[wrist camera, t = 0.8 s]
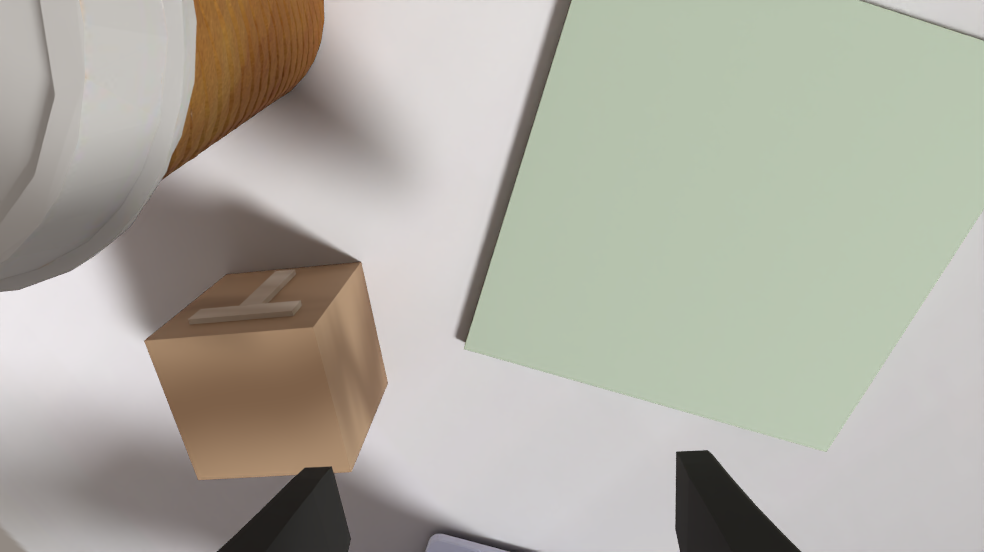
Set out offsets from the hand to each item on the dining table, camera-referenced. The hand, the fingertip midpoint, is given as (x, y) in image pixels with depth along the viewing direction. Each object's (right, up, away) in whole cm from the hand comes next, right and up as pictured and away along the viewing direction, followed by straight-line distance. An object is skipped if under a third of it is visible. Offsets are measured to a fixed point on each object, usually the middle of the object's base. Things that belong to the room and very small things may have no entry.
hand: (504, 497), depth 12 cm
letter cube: (-7, +3, +10) cm, 12 cm away
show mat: (+7, +6, +7) cm, 12 cm away
